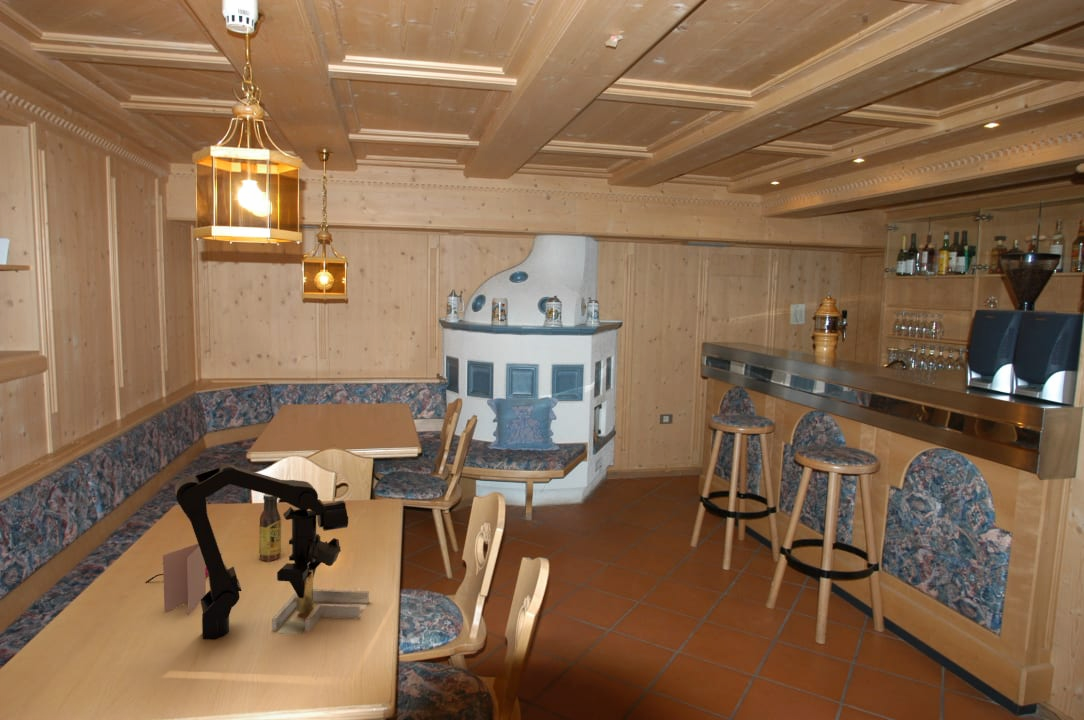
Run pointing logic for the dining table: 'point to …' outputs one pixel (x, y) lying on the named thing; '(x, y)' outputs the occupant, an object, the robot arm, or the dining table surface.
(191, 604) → the greeting card
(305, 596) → the brass peg
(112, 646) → the dining table surface
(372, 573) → the dining table surface
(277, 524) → the sauce bottle
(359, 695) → the dining table surface
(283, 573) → the robot arm
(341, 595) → the steel rails
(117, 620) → the dining table surface
